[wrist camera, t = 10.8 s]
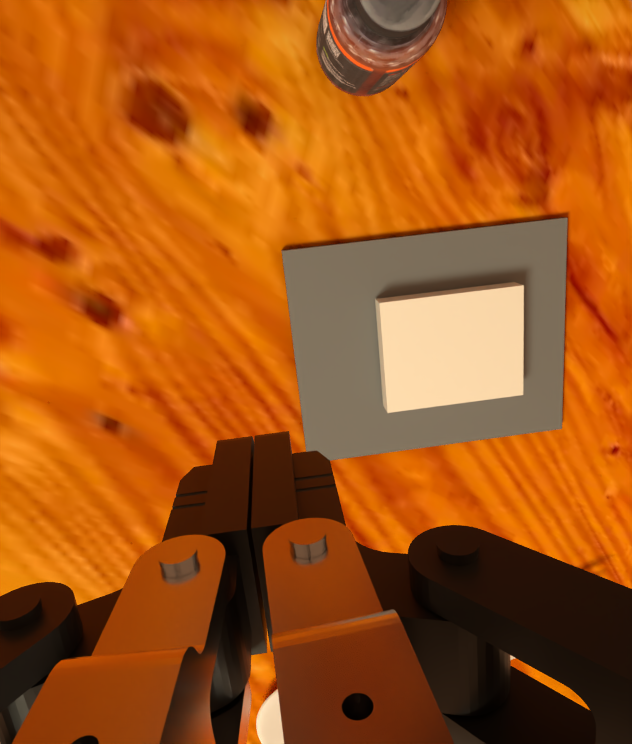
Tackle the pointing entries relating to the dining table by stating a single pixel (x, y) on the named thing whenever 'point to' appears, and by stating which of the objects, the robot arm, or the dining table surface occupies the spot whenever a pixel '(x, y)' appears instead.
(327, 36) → the supplement bottle
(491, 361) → the tile
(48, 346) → the dining table surface
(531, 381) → the mat
